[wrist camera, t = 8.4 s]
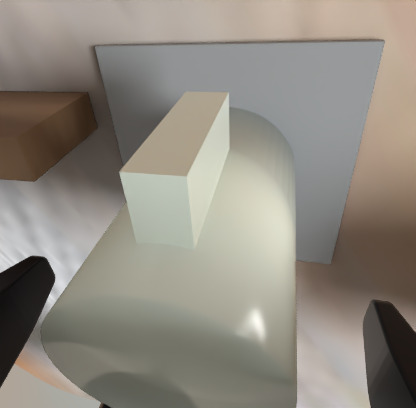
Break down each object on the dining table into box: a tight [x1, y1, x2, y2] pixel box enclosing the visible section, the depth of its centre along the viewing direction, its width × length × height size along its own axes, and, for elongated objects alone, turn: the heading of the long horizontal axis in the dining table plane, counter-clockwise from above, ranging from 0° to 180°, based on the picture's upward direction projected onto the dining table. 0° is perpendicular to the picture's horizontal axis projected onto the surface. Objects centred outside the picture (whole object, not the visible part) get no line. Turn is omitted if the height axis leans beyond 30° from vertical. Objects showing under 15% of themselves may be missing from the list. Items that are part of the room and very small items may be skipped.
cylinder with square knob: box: [41, 92, 297, 408], centre depth 10 cm, size 7×6×9 cm
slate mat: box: [95, 40, 385, 264], centre depth 14 cm, size 10×10×1 cm
